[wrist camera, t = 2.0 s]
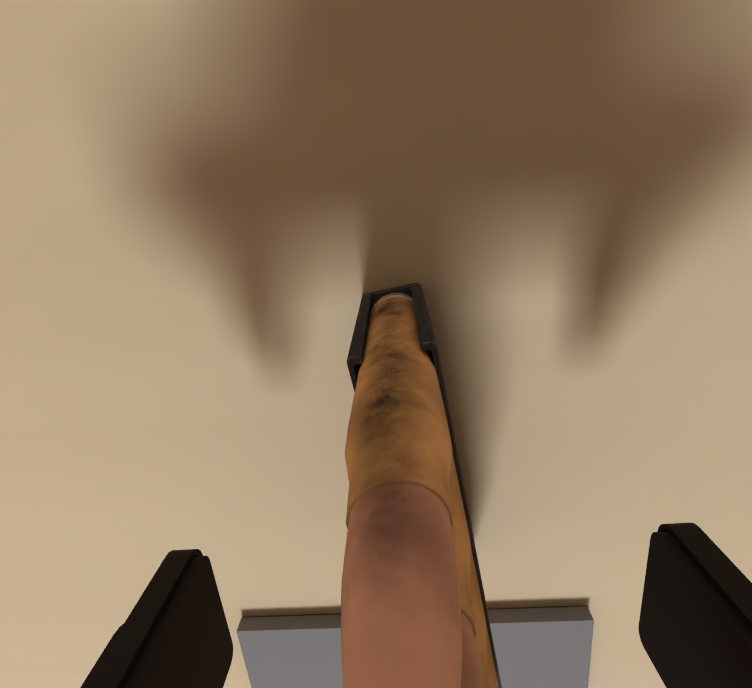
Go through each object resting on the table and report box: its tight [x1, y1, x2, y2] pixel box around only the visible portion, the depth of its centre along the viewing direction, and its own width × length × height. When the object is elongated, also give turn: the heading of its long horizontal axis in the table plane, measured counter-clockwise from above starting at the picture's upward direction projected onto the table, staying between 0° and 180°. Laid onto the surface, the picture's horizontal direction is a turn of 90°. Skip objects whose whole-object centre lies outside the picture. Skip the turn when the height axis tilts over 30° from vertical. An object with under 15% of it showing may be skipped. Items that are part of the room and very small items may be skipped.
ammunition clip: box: [341, 283, 502, 688], centre depth 9 cm, size 11×2×12 cm, turn 13°
